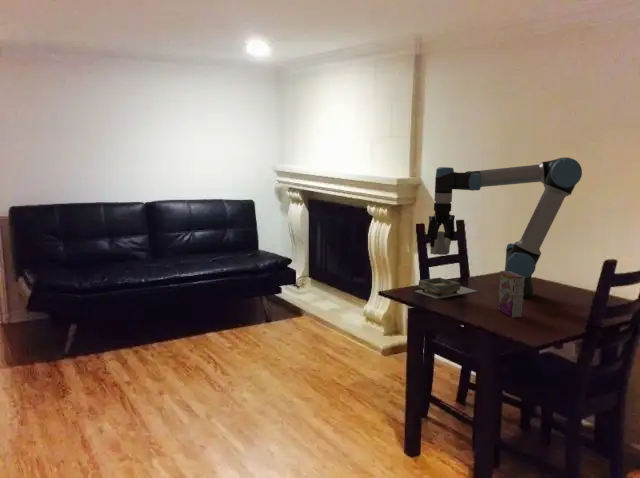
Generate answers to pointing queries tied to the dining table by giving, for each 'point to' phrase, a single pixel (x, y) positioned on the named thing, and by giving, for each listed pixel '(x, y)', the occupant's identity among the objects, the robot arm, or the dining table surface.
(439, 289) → the square tray
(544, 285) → the dining table surface
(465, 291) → the mat
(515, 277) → the candy bar box
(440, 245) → the flask
